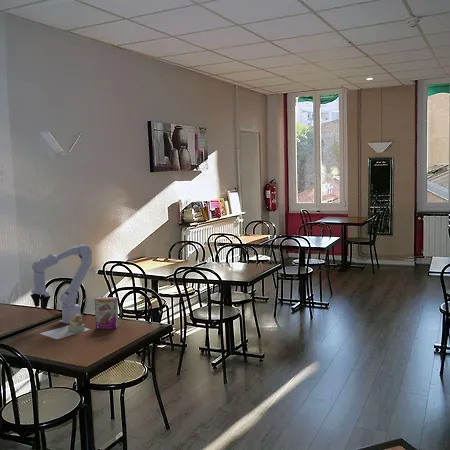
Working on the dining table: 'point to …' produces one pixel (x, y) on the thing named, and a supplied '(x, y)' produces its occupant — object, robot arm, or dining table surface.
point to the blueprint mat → (60, 332)
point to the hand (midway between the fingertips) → (40, 307)
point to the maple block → (75, 320)
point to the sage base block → (76, 328)
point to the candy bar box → (106, 312)
